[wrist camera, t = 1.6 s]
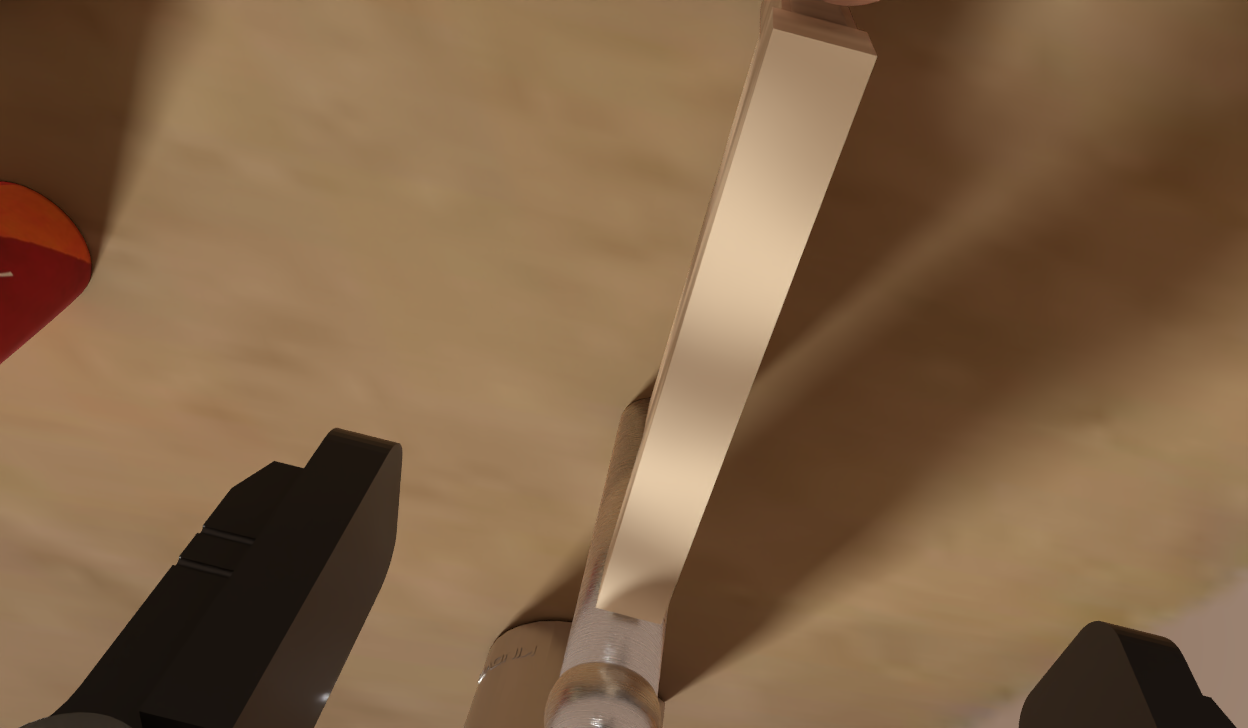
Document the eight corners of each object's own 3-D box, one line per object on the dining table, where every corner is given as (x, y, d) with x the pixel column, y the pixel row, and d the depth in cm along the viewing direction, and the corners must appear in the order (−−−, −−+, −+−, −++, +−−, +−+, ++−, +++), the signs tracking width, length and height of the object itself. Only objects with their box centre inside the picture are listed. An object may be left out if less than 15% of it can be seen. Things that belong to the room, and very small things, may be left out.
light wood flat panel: (688, 414, 34) (660, 624, 25) (639, 401, 34) (595, 607, 25) (838, -35, 24) (877, 56, 16) (770, -53, 24) (773, 28, 16)
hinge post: (711, 433, 36) (679, 787, 23) (651, 469, 38) (590, 820, 25) (658, 380, 35) (595, 720, 22) (599, 420, 37) (507, 759, 24)
